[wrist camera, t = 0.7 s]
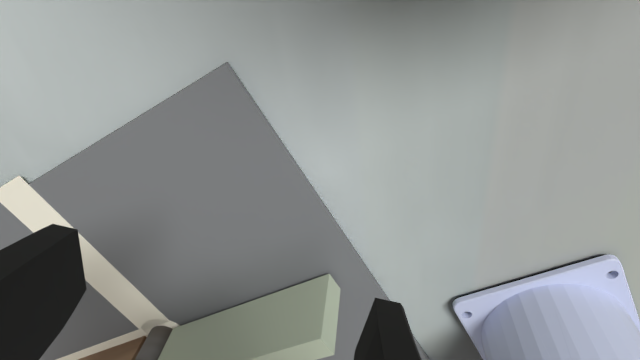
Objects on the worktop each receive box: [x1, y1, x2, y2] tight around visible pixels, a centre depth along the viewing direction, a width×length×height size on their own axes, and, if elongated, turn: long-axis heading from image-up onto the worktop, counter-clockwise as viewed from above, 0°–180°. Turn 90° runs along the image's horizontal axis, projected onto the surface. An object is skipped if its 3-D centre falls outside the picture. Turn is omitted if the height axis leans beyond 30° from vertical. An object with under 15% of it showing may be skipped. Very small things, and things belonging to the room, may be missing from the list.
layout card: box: [0, 62, 430, 360], centre depth 27 cm, size 25×27×1 cm
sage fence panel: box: [158, 274, 341, 360], centre depth 22 cm, size 1×11×4 cm, turn 121°
